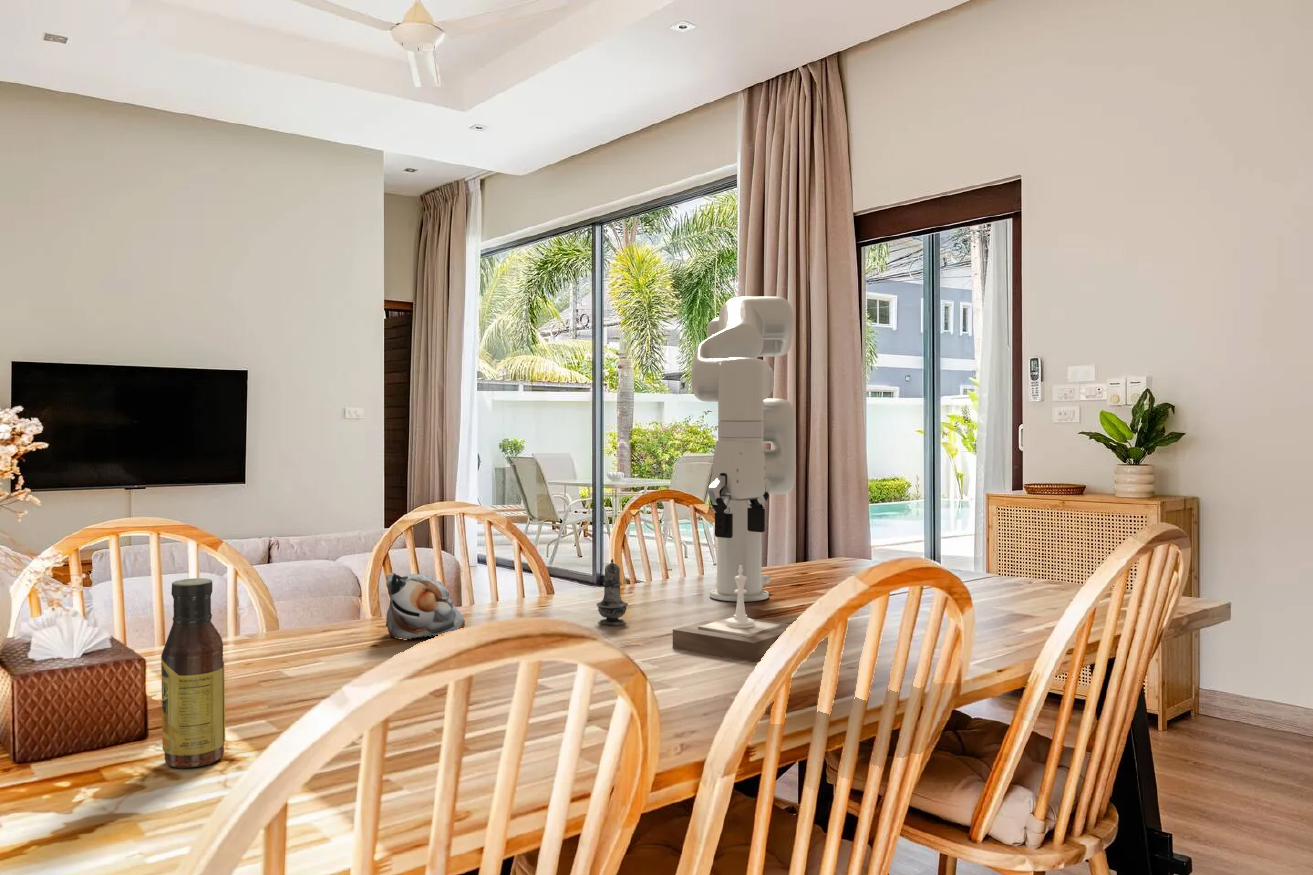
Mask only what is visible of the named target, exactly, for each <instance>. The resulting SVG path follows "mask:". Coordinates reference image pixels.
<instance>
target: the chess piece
mask: <svg viewBox="0 0 1313 875" xmlns="http://www.w3.org/2000/svg"><path fill="white" fill-rule="evenodd" d="M742 572H743V569H742V565H739V570H738V573H739V575H738V576H736V577H735V581H736V585H737V588H738V590H735V591H734V593H738V597H737V602H736V605H735V606H736V607H735V613H734V614H733V616H735V617H733V618H730V619H727V620H726V626H728V627H733V628H750V627H754V626H755V624H754V623H755V621H754V620H753V619H754V618H750V617H748V614H747V613H746V608H745V602H744V596H743V593H747V591H746V590H744V589H743V588H744V585H745V582H746V579H747V577H745V576H743V575H742Z"/></svg>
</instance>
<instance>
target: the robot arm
mask: <svg viewBox="0 0 1313 875" xmlns="http://www.w3.org/2000/svg"><path fill="white" fill-rule="evenodd" d="M706 328H707V329H706V337H707V338H706V339H705V340H703V341H702V342H700V344H699V345H698V346H697V347H696V350H694V351H695V352H694V355H693V358H692V365H691V373H690V375H691V376H690V381H691V382H690V383H691V390H692V393H693V395H694V396H695V397H696V399H698V400H699V401H702V402H707V403H708V402H709V403H713V402H716V403H717V402H718V404H717V411H718V412H717V413H718V414H717V420H718V421H717V440H716V441H715V447H714V451H713V459H712V469H711V471H712V472H711V484H710V485H709V486H708V487H707V493H708V497H709V503H710V505H711V507H712V513H713V514H714V536H715V537H716V588H713V589H710V591H709V597H710V598H711V599H714V600H718V601H725V602H736V603H737V597H738V593H734V591H735V590H738V588H737V585H736V581H735V577H736V576H738V575H739V573H738V570H739V565H742V569H743V572H742V575H743V576H745V577H747V579H746V582H745V585H744V588H743V589H744V590H746V591H747V593H743V596H744V603H745V602H746V603H747V602H758V601H765V600H767V599H768V598H769V596H770V594H769V591H768V590H766V589H763V586H764V585H767V584H770V583H771V580H772V579H771V576H770V575H769V574H764V575H763V574H762V533H764V532H765V531H766V519H765V518H766V508H767V505H768V504H767V501H768V499H769V497H770V496H769V495H785V494H788V493H791V491H793V489H794V487H795V484H796V476H797V475H796V474H797V473H796V472H797V471H796V470H797V465H796V464H797V463H796V461H797V458H796V457H797V455H796V453H797V450H796V448H797V446H796V438H797V437H796V435H797V433H796V432H797V430H796V427H797V426H796V415H795V414H796V413H795V410H794V407H793V405H792V403H791V402H790V401H789V400H786V399H784V398H777V397H775V398H771V397H770V394H771V393H772V392H773V391H774V386H775V384H774V383H775V378H774V376H775V374H774V370H773V368H771V366H770V365H769V363H768V362H767V361H765V360H763V359H760V358H758V357H763V358H764V357H766V358H767V357H768V358H769V357H771V358H773V357H782V356H785V355H787V354H788V352H789V351H790V349H791V347H792V342H793V336H794V329H795V315H794V310H793V307H792V305H791V303H790V302H789V301H788V300H787V299H786V298H784V297H782V296H737V297H733V298H730V299H727V301H726V302H724V303H723V305H722V306H721V308H720V310H719V314H718V317H715V318H713V319H712V320H710V321H709V323H708V325H707V327H706ZM769 397H770V398H769ZM764 444H771V445H772V446H773V447H774V449H764Z"/></svg>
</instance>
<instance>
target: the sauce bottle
mask: <svg viewBox="0 0 1313 875" xmlns="http://www.w3.org/2000/svg"><path fill="white" fill-rule="evenodd" d="M212 594H213V580H212V579H211V578H205V577H204V578H203V577H199V578H197V577H196V578H195V577H194V578H186V579H180V580H179V579H178V580H175V581H173V582H172V583H171V596H172V598H173V617H172V625H171V628H170V630H169V633H168V636H167V639H166V641H165V645H164V647H163V650H162V653H161V654H160V655H161V656H160V659H161V660H160V661H161V662H160V666H161V667H160V669H161V676H160V677H161V732H162V733H161V735H162V751H163V752H164V761H165V763H166V764H167V766H168V767H170V768H180V769H186V768H187V769H188V768H190V769H191V768H199V767H200V768H201V767H205V766H208V765H211V764H212V763H215V762H217V761H219V760H221V759H222V757H223V756H224V754H225V741H226V699H225V698H226V695H225V694H226V689H225V688H226V687H225V682H226V681H225V677H226V676H225V662H224V643H223V637H222V636H221V634H220V633H219V631H218V629H217V628H216V627H215V624H213V622H212V617H213V614H212Z"/></svg>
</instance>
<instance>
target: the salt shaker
mask: <svg viewBox="0 0 1313 875" xmlns="http://www.w3.org/2000/svg"><path fill="white" fill-rule="evenodd" d="M614 562H615V561H614V559H613V558H611V559H610V563H608V564H607V565H606V566H604V582H603V583H602V585H603V588H604V589H603V591H604V592H603V593H604V594H603V597H602V598H603V599H602V600H601V601H600V602H597V603H596V604H595V605H596V607H597V610H598V613H599V615H600V616H601V617H602V618H603V619H600V620H599V621H598V622H597V624H598V625H599V626H602V627H603V626H604V627H621V626H625V625H627V621H625V620H624V619H623V618H622V617H623V616H624V615H625V614H626V611H627V606H629V603H627V602H625V601H624V600H622V597H621V596H622V595H621V586H622V582H621V581H620V580H621V578H620V577H621V576H620V575H621V574H620V573H621V572H620V571H621V570H620V569H621V567H620V566H619V565H618V564H616V563H614Z"/></svg>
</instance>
